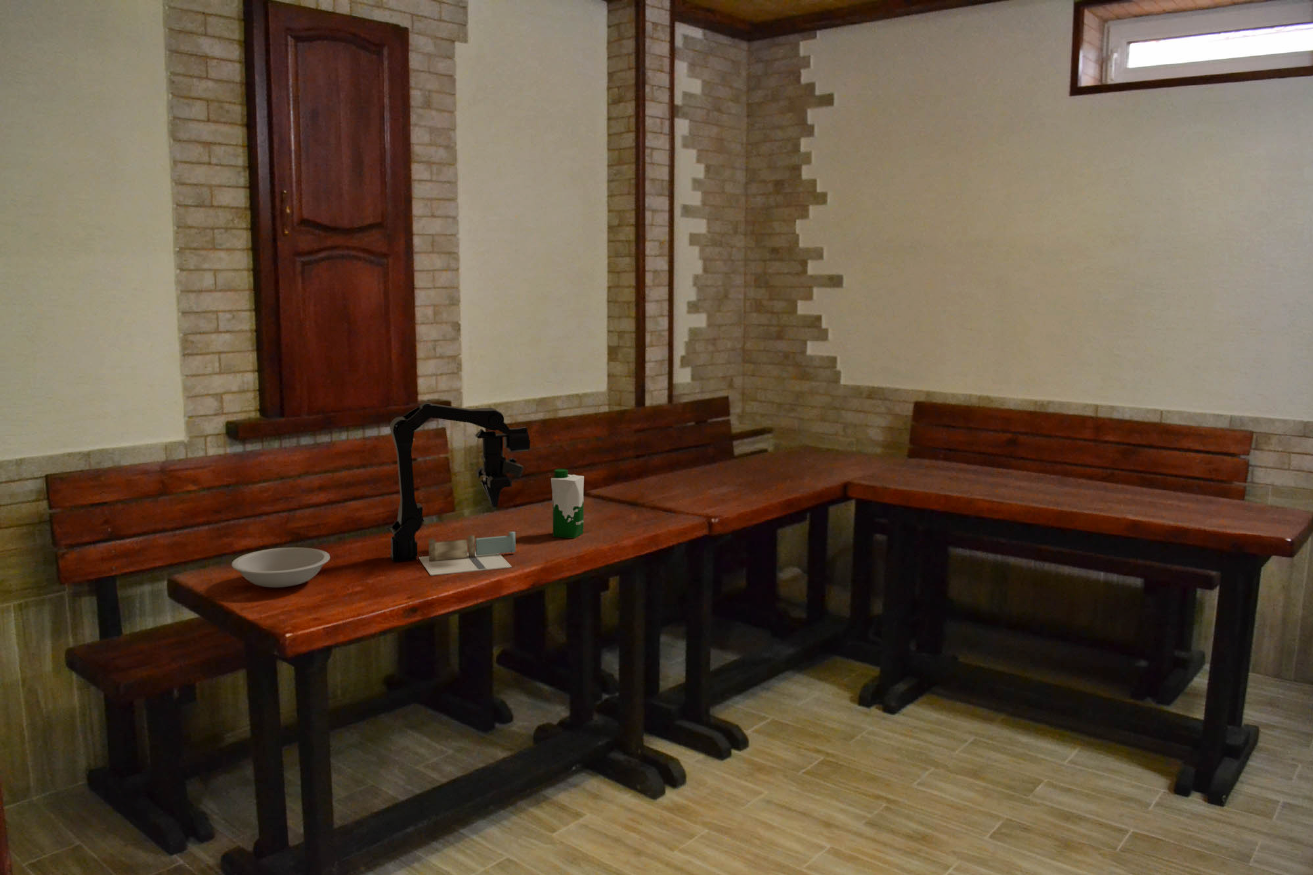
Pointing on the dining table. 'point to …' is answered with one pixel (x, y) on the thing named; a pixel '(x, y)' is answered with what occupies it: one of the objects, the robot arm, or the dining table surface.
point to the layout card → (464, 564)
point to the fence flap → (496, 544)
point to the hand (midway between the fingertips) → (494, 506)
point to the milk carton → (567, 504)
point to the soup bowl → (281, 566)
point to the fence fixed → (451, 549)
